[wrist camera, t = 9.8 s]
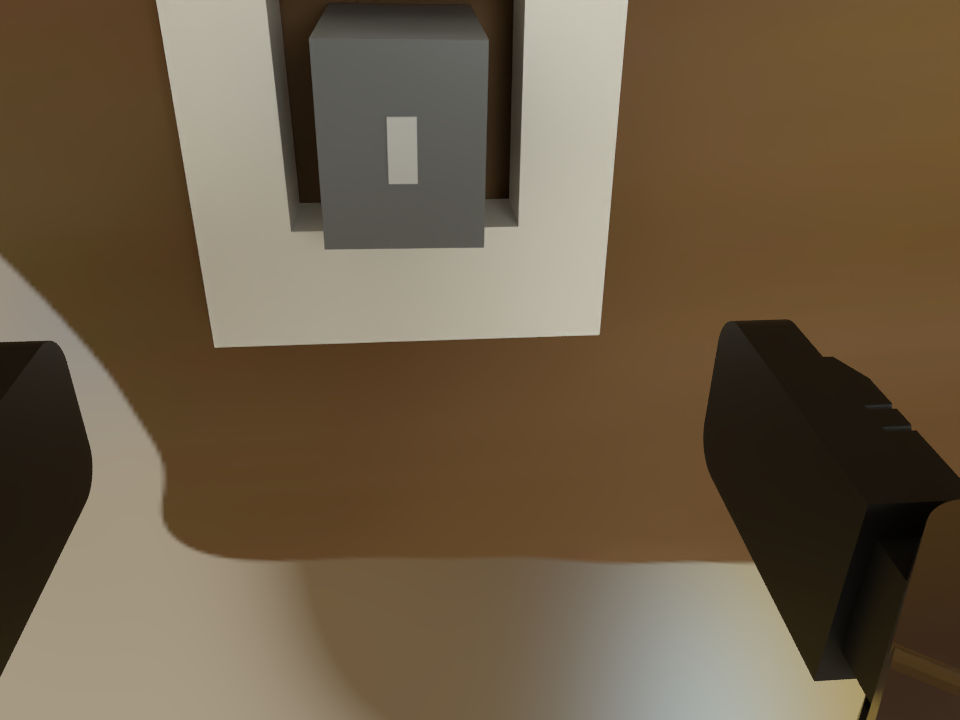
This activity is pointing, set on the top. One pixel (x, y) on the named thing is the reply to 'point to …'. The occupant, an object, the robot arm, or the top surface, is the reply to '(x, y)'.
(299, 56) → the top surface
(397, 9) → the block
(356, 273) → the outlet plate
